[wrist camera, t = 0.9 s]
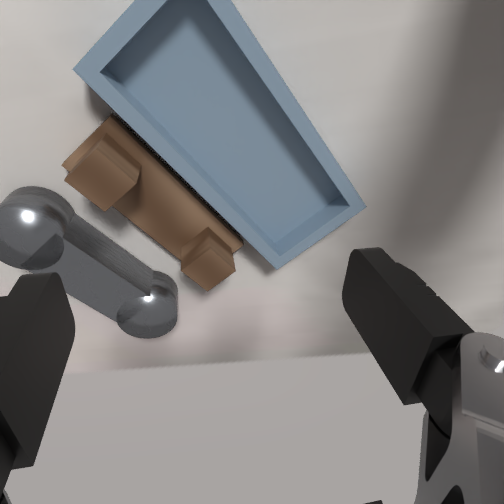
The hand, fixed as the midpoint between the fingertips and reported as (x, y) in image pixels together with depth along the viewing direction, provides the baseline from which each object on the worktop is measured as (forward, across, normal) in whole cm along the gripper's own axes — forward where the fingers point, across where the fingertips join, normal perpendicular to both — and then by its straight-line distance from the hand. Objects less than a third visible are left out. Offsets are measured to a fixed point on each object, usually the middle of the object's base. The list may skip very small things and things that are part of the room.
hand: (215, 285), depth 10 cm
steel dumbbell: (+19, +8, +10) cm, 23 cm away
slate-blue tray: (+18, -4, 0) cm, 18 cm away
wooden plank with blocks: (+18, +2, +6) cm, 19 cm away
